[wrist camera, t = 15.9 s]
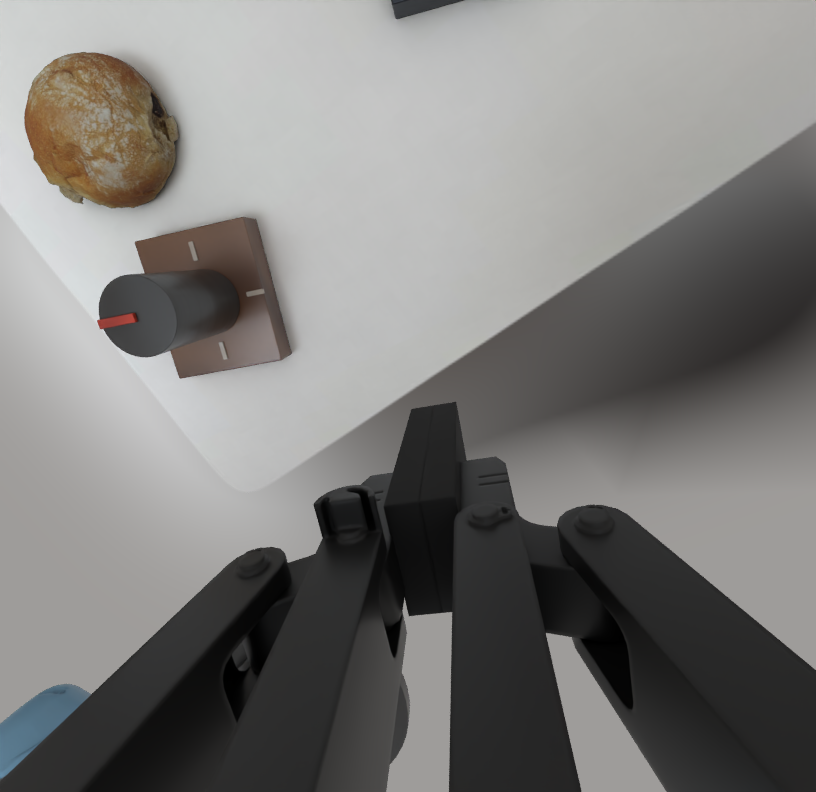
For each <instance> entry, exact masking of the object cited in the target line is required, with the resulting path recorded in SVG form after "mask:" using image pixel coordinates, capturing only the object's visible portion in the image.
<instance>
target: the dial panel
mask: <svg viewBox="0 0 816 792" xmlns="http://www.w3.org/2000/svg"><path fill="white" fill-rule="evenodd" d="M135 245H136V248H137V251H138V254H139V257H140V260H141V263H142V266H143V269H144V272H145V273H159V272H172V271H186V270H200V269H208V270H213V271H216V272H219V273H220V274H222V275H224V276H225V277H226V278H227V279H228V280H229V281H230V282H231V283H232V284H233V286H234V287H235V289H236V291H237V294H238V297H239V302H240V310H239V315H238V318H237V320H236V321H235V323H234V324H233V326H232V327H231V328H229V329H228V330H226V331H225V332H222V333H220V334H217V335H214V336H211V337H208V338H205V339H202V340H199V341H196V342H194V343H191V344H188V345H185V346H182V347H179V348H176V349H173V350H171V354H172V357H173V360H174V363H175V366H176V369H177V372H178V375H179V378H186V377H192V376H197V375H203V374H208V373H214V372H219V371H224V370H230V369H235V368H241V367H246V366H252V365H257V364H263V363H268V362H274V361H279V360H282V359H284V358H285V357H287V356H289V355H290V354H291V350H290V346H289V342H288V339H287V335H286V331H285V327H284V323H283V320H282V316H281V312H280V308H279V305H278V301H277V297H276V293H275V289H274V286H273V282H272V278H271V274H270V271H269V267H268V263H267V259H266V255H265V252H264V248H263V244H262V240H261V236H260V233H259V229H258V225H257V221H256V219H252V218H246V217H240V218H236V219H232V220H227V221H223V222H219V223H214V224H210V225H206V226H201V227H197V228H193V229H188V230H184V231H180V232H175V233H171V234H167V235H162V236H158V237H154V238H149V239H145V240H141V241H136V242H135Z"/></svg>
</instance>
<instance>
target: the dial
mask: <svg viewBox="0 0 816 792" xmlns="http://www.w3.org/2000/svg"><path fill="white" fill-rule="evenodd" d="M239 310H240V302H239V297H238V294H237V291H236V289H235V287H234V286H233V284H232V283H231V282H230V281H229V280H228V279H227V278H226V277H225V276H224V275H222V274H220V273H219V272H216V271H213V270H208V269H200V270H186V271H172V272H159V273H145V274H131V275H124V276H120V277H118V278H116V279H114V280H113V281H111V282H110V283H109V284H108V285H107V286H106V288H105V289H104V291H103V293H102V295H101V298H100V302H99V316H100V320H97V322H98V324H99V327H100V329H104V331H105V332H106V334H107V336H108V337H109V338H110V340H111V341H112V342H113V343H114V344H115V345H116V346H117V347H119V348H120V349H121V350H123V351H125V352H126V353H129V354H131V355H134V356H138V357H152V356H156V355H159V354H162V353H165V352H168V351H171V350H173V349H176V348H179V347H182V346H185V345H188V344H191V343H194V342H196V341H199V340H202V339H205V338H208V337H211V336H214V335H217V334H220V333H222V332H225V331H226V330H228V329H229V328H231V327H232V326H233V324H234V323H235V321H236V320H237V318H238V315H239Z"/></svg>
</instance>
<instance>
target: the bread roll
mask: <svg viewBox="0 0 816 792" xmlns="http://www.w3.org/2000/svg"><path fill="white" fill-rule="evenodd" d="M25 129H26V133H27V136H28V139H29V142H30V145H31V148H32V150H33V152H34V160H35V161H36V162H37V164H38V165H39V167H40V168H41V170H42V172H43V173H44V175H45V176H46V178H47V180H48V182H49V183H50V184H53V185H57V186H59V188H60V192H61V193H62V194H63V195H64V196H65V197H67V198H69V199H70V200H72V202H75V203H81V204H84V203H83V202H82V201H83V197H84V198H86V199H88V200H90V201H93V202H95V203H97V204H99V205H105V206H107V207H109V208H118V207H119V208H123V207H131V208H134V207H136V206H139V205H142V204H145V203H147V202H149V201H151V200H153V199H154V198H155V196H156V195H157V194H158V193H159V191H160V190H161V189H162V188H163V187H164V185H165V182H166V180H167V178H168V177H169V175H170V173H171V171H172V169H173V166H174V163H175V147H174V142H175V141H176V140H177V139H178V138H179V134H178V128H177V124H176V122H175V120H174V118H173V116H170V117H168V115H167V113H166V110H165V108H164V107H163V105H162V103H161V102H160V100H159V98H158V97H157V95H156V94H155V92H154V91H153V90H152V88H151V86H150V84H149V83H148V82H147V81H146V80H145V79H144V78H143V77H142V76H141V75H140V74H139V73H138V72H137V71H136V70H135V69H134V68H133V67H131V66H130V65H128V64H126V63H125V62H123V61H121V60H119V59H117V58H114V57H112V56H108V55H104V54H99V53H86V52H81V53H74V54H68V55H64V56H62V57H60V58H58V59H56V60H54V61H53V62H51V63H50V64H49V65H47V66H46V67H45V68H44V69H43V70H42V71H41V72H40V73H39V74H38V75H37V76H36V77H35V78H34V80H33V82H32V86H31V89H30V91H29V95H28V101H27V105H26V109H25Z"/></svg>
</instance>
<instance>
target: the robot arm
mask: <svg viewBox="0 0 816 792" xmlns="http://www.w3.org/2000/svg"><path fill="white" fill-rule="evenodd" d="M314 508H315V511H316V515H317V519H318V522H319V526H320V530H321V533H322V537H323V539H322V541H321V543H320V545H319V547H318V550H317V552H316V554H314V555H311V556H309V557H306V558H302V559H299V560H296V561H293V562H290V563H288V562H287V559H286V556H285V553H284V552H283V551H282V550H281V549H279V548H274V547H269V548H268V547H267V548H257V549H255V550H251V551H248V552H246V553H245V554H244V555H241V556H240V557H237V558H236V559H235V560H233V561H232V562H231V563H230V564H228V565H227V566H226V567H225V568H224V569H223V570H222V571H221V572H220V573H219V574H218V575H217V576H216V577H214V578H213V580H211V581H210V582H209V583H208V584H207V585H206V586H205V587H204V588H203V589H202V590H201V591H200V592H199V593H198V594H197V595H196V596H194V598H192V599H191V600H190V601H189V602H188V603H187V604H186V605H185V606H184V607H183V608H182V609H181V610H180V611H179V612H178V613H177V614H176V615H174V616H173V617H172V618H171V619H170V620H169V621H168V622H167V623H166V624H165V625H164V626H163V627H162V628H161V629H160V630H159V631H158V632H157V633H156V634H155V635H153V637H151V638H150V639H149V640H148V641H147V642H146V643H145V644H144V645H143V646H142V647H141V648H140V649H139V650H138V651H137V652H136V653H135V654H133V655H132V656H131V657H130V658H129V659H128V660H127V661H126V662H125V663H124V664H123V665H122V666H121V667H120V668H119V669H118V670H117V671H116V672H115V673H114V674H113V675H112V676H110V678H108V679H107V680H106V681H105V682H104V683H103V684H102V685H101V686H100V687H99V688H98V689H97V690H96V691H95V692H94V693H92V694H90V693H88V692H87V691H85V690H83V689H82V688H80V687H78V686H76V685H72V684H63V685H57V686H53V687H51V688H49V689H46V690H44V691H43V692H41V693H39V694H38V695H36V696H35V697H34V698H32V699H31V700H30V701H28V702H27V703H25V704H24V705H23V706H21V707H20V708H19V709H18V710H16V711H15V712H14V713H13V714H11V715H10V716H9V717H8V718H7V719H5V720H4V721H3V722H2V723H1V724H0V792H386V788H387V781H388V772H389V765H390V758H391V750H392V742H393V734H394V727H395V719H396V711H397V703H398V696H399V688H400V680H401V673H402V665H403V657H404V649H405V642H406V634H407V632H406V625H405V621H404V617H403V613H402V610H403V603H404V597H405V601H406V605H407V610H408V614H409V616H414V615H424V614H434V613H445V612H452V661H451V715H450V769H449V770H450V771H449V772H450V773H449V792H581V788H580V783H579V779H578V774H577V770H576V766H575V761H574V757H573V752H572V748H571V743H570V739H569V735H568V730H567V726H566V721H565V717H564V713H563V708H562V704H561V700H560V695H559V690H558V686H557V682H556V677H555V673H554V669H553V664H552V660H551V655H550V651H549V647H548V642H547V638H546V633H551V634H557V635H563V636H569V637H572V640H573V642H574V645H575V648H576V649H577V651H578V653H579V654H580V656H581V658H582V659H583V661H584V662H585V664H586V666H587V667H588V669H589V670H590V672H591V673H592V675H593V677H594V678H595V680H596V681H597V683H598V684H599V686H600V687H601V689H602V691H603V692H604V694H605V695H606V697H607V698H608V700H609V702H610V703H611V705H612V706H613V708H614V710H615V711H616V713H617V714H618V716H619V717H620V719H621V721H622V722H623V724H624V725H625V726H626V728H627V730H628V731H629V733H630V735H631V736H632V738H633V739H634V741H635V743H636V744H637V745H638V747H639V749H640V751H641V752H642V754H643V755H644V757H645V758H646V760H647V761H648V763H649V765H650V766H651V768H652V769H653V771H654V773H655V774H656V776H657V777H658V779H659V780H660V782H661V784H662V785H663V787H664V788H665V790H666V791H667V792H816V670H815V669H813V668H812V667H811V666H810V665H809V664H807V663H806V662H805V661H804V660H803V659H802V658H800V657H799V656H798V655H796V654H795V653H794V652H793V651H792V650H791V649H789V648H788V647H787V646H786V645H785V644H783V643H782V642H781V641H780V640H779V639H777V638H776V637H775V636H774V635H773V634H771V633H770V632H769V631H768V630H766V629H765V628H764V627H763V626H762V625H760V624H759V623H758V622H757V621H756V620H754V619H753V618H752V617H751V616H749V615H748V614H747V613H746V612H745V611H743V610H742V609H741V608H740V607H738V606H737V605H736V604H735V603H734V602H732V601H731V600H730V599H729V598H728V597H726V596H725V595H724V594H723V593H722V592H720V591H719V590H718V589H717V588H716V587H714V586H713V585H712V584H711V583H710V582H708V581H707V580H706V579H705V578H704V577H702V576H701V575H700V574H699V573H698V572H696V571H695V570H694V569H693V568H692V567H690V566H689V565H688V564H687V563H685V562H684V561H683V560H682V559H681V558H679V557H678V556H677V555H676V554H675V553H673V552H672V551H671V550H670V549H669V548H667V547H666V546H665V545H664V544H662V543H661V542H660V541H659V540H658V539H656V538H655V537H654V536H653V535H652V534H650V533H649V532H648V531H647V530H645V529H644V528H643V527H642V526H641V525H639V524H638V523H637V522H636V521H635V520H633V519H632V518H631V517H630V516H629V515H627V514H626V513H624V512H622V511H620V510H618V509H616V508H612V507H608V506H603V505H586V506H581V507H576V508H574V509H571V510H569V511H567V512H565V513H564V514H563V515H562V516H560V518H559V520H558V524H557V527H552V526H543V525H537V524H533V523H530V522H528V521H526V520H524V519H523V518H522V517H520V516H519V514H518V512H517V510H516V508H515V504H514V499H513V495H512V490H511V486H510V482H509V477H508V473H507V468H506V464H505V463H504V462H503V461H501V460H500V459H499V458H497V457H490V458H483V459H476V460H469V461H467V460H466V455H465V449H464V444H463V438H462V432H461V427H460V421H459V416H458V410H457V405H456V402H452V403H446V404H440V405H434V406H428V407H421V408H416V409H412V410H411V413H410V416H409V420H408V423H407V427H406V431H405V434H404V437H403V441H402V444H401V447H400V451H399V454H398V458H397V462H396V465H395V468H394V472H393V473H387V474H380V475H373V476H370V477H369V478H368V479H367V480H366V481H365V482H363V483H362V484H361V485H353V486H346V487H342V488H338V489H335V490H333V491H330V492H328V493H326V494H325V495H323V496H321V497H320V498H319V499H318V500H317V501H316V502H315V503H314ZM241 642H242V643H243V646H244V649H245V652H246V655H247V657H248V658H246V659H245V660H243V661H242V662H241V663H239V664H238V665H237V666H235V663H234V660H233V657H232V653H233V652H234V651H235V650H236V649H237V647H238V646H239V645H240V644H241Z"/></svg>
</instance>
